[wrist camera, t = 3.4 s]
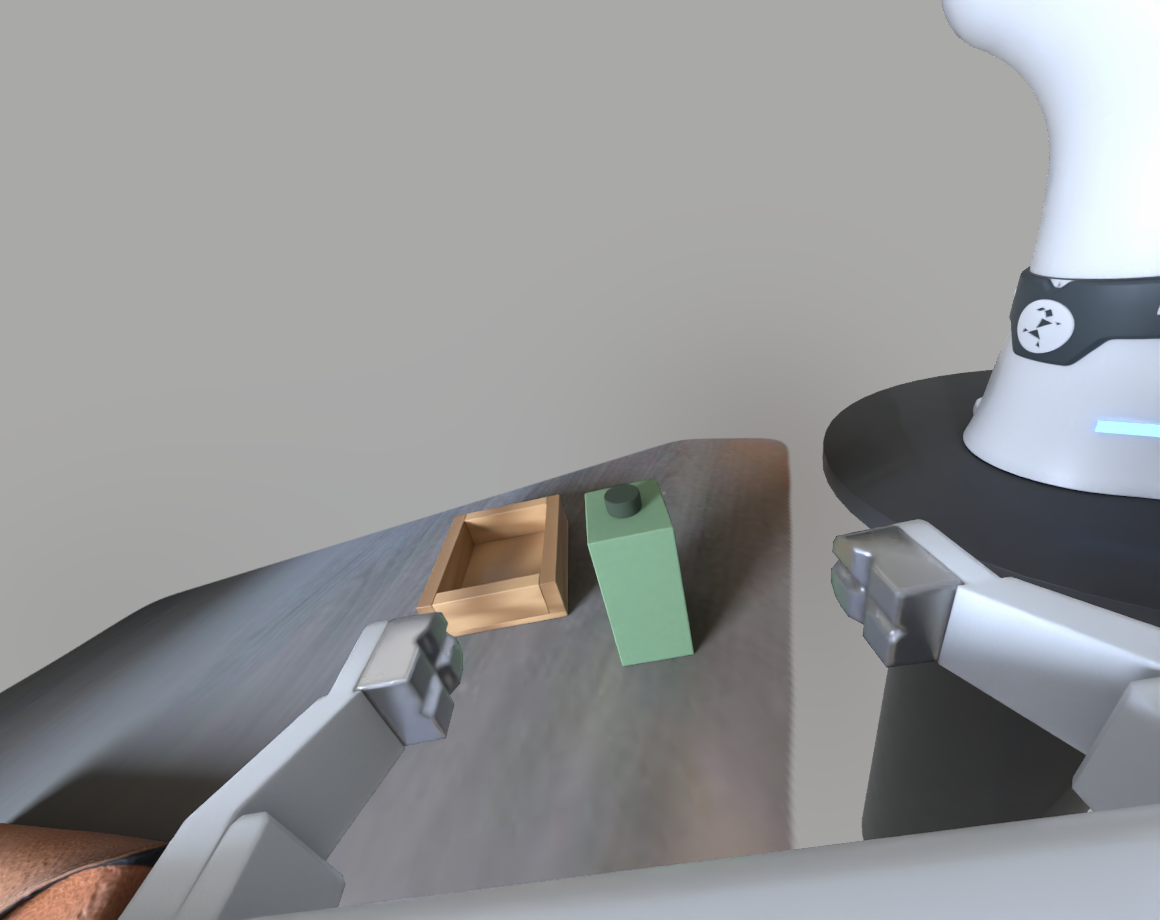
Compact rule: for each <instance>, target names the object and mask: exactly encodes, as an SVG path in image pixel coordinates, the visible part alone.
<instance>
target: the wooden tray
mask: <svg viewBox="0 0 1160 920" xmlns="http://www.w3.org/2000/svg"><path fill="white" fill-rule="evenodd" d="M416 609H417V611H418V612H419V614H425V613H431V612H442V613H443V615H444V617H445V618H446V620H447V622H448V626H447V629H446V632H447V633H449V634H451V635H453V636H461V635H466V634H471V633H477V632H482V631H488V630H493V629H498V628H504V627H509V626H515V625H520V624H525V623H531V622H536V621H542V620H547V619H552V618H558V617H563V616H568V520H567V517H566V514H565V510H564V507H563V504H562V501H561V497H560V494H557V495H553V496H548V497H544V498H539V499H534V500H530V501H525V502H520V503H515V504H511V505H506V506H501V507H497V508H492V509H487V510H483V511H478V512H473V513H468V514H463V515H458V516H455V518H454V520H453V522H452V525H451V527H450V530H449V532H448V534H447V537H446V539H445V541H444V544H443V546H442V549H441V551H440V553H439V556H438V558H437V560H436V563H435V565H434V567H433V570H432V572H431V575H430V577H429V579H428V582H427V584H426V586H425V589H424V591H423V594H422V596H421V598H420V601H419V603H418V605H417V608H416Z"/></svg>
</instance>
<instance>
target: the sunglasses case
mask: <svg viewBox="0 0 1160 920" xmlns="http://www.w3.org/2000/svg"><path fill="white" fill-rule="evenodd" d="M169 843H170V842H161V841H155V840H150V839H143V838H136V837H130V836H124V835H118V834H108V833H100V832H91V831H81V830H66V829H56V828H46V827H38V826H26V825H15V824H5V823H0V920H118V919H119V917H120V916H121V914H122V913H123V911H124V910H125V908H126V907H127V905H128V904H129V902H130V901H131V899H132V898H133V897H134V895H135V894H136V892H137V891H138V889H139V888H140V886H141V885H142V883H143V882H144V880H145V879H146V877H147V876H148V874H149V873H150V871H151V870H152V868H153V867H154V865H155V864H156V862H157V861H158V859H159V858H160V856H161V855H162V853H163V852H164V850H165V849H166V847H167V846H168V844H169Z"/></svg>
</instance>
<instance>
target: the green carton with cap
mask: <svg viewBox="0 0 1160 920" xmlns="http://www.w3.org/2000/svg"><path fill="white" fill-rule="evenodd" d="M585 508H586V526H587V543H588V548H589V551H590V555H591V558H592V562H593V565H594V569H595V572H596V575H597V579H598V582H599V586H600V589H601V593H602V596H603V600H604V603H605V607H606V610H607V614H608V617H609V621H610V624H611V627H612V631H613V634H614V638H615V641H616V645H617V648H618V652H619V655H620V659H621V662H622V665H623V666H628V665H634V664H639V663H645V662H651V661H657V660H663V659H668V658H674V657H680V656H686V655H692V654H694V650H693V643H692V637H691V631H690V625H689V619H688V612H687V606H686V600H685V594H684V587H683V581H682V575H681V569H680V563H679V556H678V550H677V544H676V538H675V532H674V526H673V524H672V521H671V518H670V515H669V513H668V510H667V507H666V504H665V502H664V499H663V496H662V493H661V491H660V488H659V485H658V482H657V480H656V478H654V479H649V480H644V481H640V482H635V483H630V484H620V485H616V486H614V487H611V488H607V489H602V490H597V491H592V492H588V493H585Z"/></svg>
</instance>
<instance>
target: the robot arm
mask: <svg viewBox="0 0 1160 920" xmlns="http://www.w3.org/2000/svg"><path fill="white" fill-rule="evenodd" d="M942 6H943V10H944V13H945V16H946V18H947V21H948V23H949V25H950V26H951V28H952V29H953V31H954V32H955V33H956V35H957V36H958V37H959V38H961V39H962V40H963V41H964V42H965V43H967V44H969V45H970V46H972V47H974V48H977V49H979V50H982V51H985V52H988V53H989V54H991V55H993V56H995V57H997V58H999V59H1001V60H1002V61H1004V62H1005V63H1007V64H1008V65H1009V66H1011V67H1012V68H1013V69H1014V70H1015V71H1016V72H1018V74H1019V75H1020V76H1021V77H1022V78H1023V79H1024V80H1025V81H1026V83H1027V84H1028V85H1029V86H1030V88H1031V89H1032V91H1033V93H1034V94H1035V96H1036V98H1037V100H1038V102H1039V104H1040V106H1041V109H1042V112H1043V114H1044V117H1045V121H1046V125H1047V131H1048V137H1049V169H1048V178H1047V185H1046V193H1045V199H1044V206H1043V212H1042V217H1041V222H1040V227H1039V232H1038V237H1037V241H1036V246H1035V250H1034V254H1033V258H1032V262H1031V266H1030V267H1028V268H1027V269H1025V270H1024V271H1023V272H1022V273H1021V275H1020V279H1019V283H1018V286H1017V287H1016V290H1015V293H1014V295H1013V296H1014V300H1013V304H1012V308H1011V313H1010V320H1011V331H1010V332H1009V333H1008V335H1007V337H1006V339H1005V341H1004V344H1003V346H1002V349H1001V351H1000V354H999V357H998V359H997V361H996V364H995V366H994V369H993V372H992V374H991V377H990V379H989V382H988V385H987V387H986V390H985V393H984V395H983V397H982V398H979V399H977V400H976V403H975V405H974V408H973V414H974V416H973V418H972V420H971V421H970V423H969V425H968V426H967V428H966V429H965V431H964V434H963V440H964V443H965V445H966V446H967V447H968V449H969V450H970V451H971V452H972V453H974V454H975V455H976V456H978V457H979V458H981V459H982V460H984V461H986V462H987V463H989V464H991V465H993V466H995V467H998V468H1000V469H1002V470H1005V471H1007V472H1010V473H1013V474H1015V475H1018V476H1021V477H1024V478H1028V479H1031V480H1034V481H1038V482H1042V483H1046V484H1050V485H1054V486H1059V487H1064V488H1069V489H1075V490H1080V491H1087V492H1094V493H1101V494H1110V495H1121V496H1132V497H1143V498H1152V499H1160V0H942ZM832 551H833V553H834V554H835V555H836V557H837V558H838V559H839V560H838V561H837V563H836V564H835V565H834V566H833V568H831V583H832V587H833V590H834V594H835V596H836V598H837V600H838V602H839V604H840V606H841V607H842V608H843V610H844V611H845V613H846V614H847V615H848V617H850V618H852V619H854V620H856V621H858V622H860V623H862V624H864V629H863V637H864V638H865V640H866V641H867V642H868V644H869V645H870V646H871V648H872V649H873V650H874V651H875V653H876V654H877V655H878V657H879V658H880V659H881V661H882V662H883V663H884V665H885V666H886V667H894V666H902V665H909V664H917V663H925V662H932V661H938V664H940V665H941V666H943V667H945V668H946V669H948V670H949V671H951V672H953V673H954V674H956V675H957V676H959V677H961V678H962V679H964V680H966V681H967V682H969V683H970V684H972V685H974V686H975V687H977V688H979V689H980V690H982V691H983V692H985V693H987V694H988V695H990V696H991V697H993V698H995V699H996V700H998V701H1000V702H1001V703H1003V704H1004V705H1006V706H1008V707H1009V708H1011V709H1012V710H1014V711H1016V712H1017V713H1019V714H1021V715H1022V716H1024V717H1025V718H1027V719H1029V720H1030V721H1032V722H1034V723H1035V724H1037V725H1038V726H1040V727H1042V728H1043V729H1045V730H1046V731H1048V732H1050V733H1051V734H1053V735H1055V736H1056V737H1058V738H1059V739H1061V740H1063V741H1064V742H1066V743H1067V744H1069V745H1071V746H1072V747H1074V748H1076V749H1077V750H1079V751H1080V752H1082V753H1084V754H1085V755H1086V756H1085V758H1084V760H1083V761H1082V763H1081V765H1080V766H1079V768H1078V770H1077V771H1076V773H1075V775H1074V776H1073V782H1072V789H1073V790H1074V791H1075V792H1076V793H1077V794H1078V795H1079V796H1080V797H1081V799H1082V800H1083V801H1084V802H1085V803H1086V804H1087V805H1088V806H1089V807H1090V808H1091V809H1092V811H1093V812H1087V813H1079V814H1071V815H1063V816H1055V817H1047V818H1040V819H1032V820H1024V821H1016V822H1008V823H1000V824H992V825H984V826H976V827H968V828H960V829H952V830H944V831H936V832H929V833H921V834H913V835H905V836H897V837H889V838H881V839H873V840H865V841H857V842H849V843H842V844H834V845H826V846H818V847H810V848H802V849H794V850H786V851H778V852H770V853H762V854H754V855H746V856H738V857H730V858H722V859H715V860H707V861H699V862H691V863H683V864H675V865H667V866H659V867H651V868H643V869H635V870H627V871H619V872H611V873H604V874H596V875H588V876H580V877H572V878H564V879H556V880H548V881H540V882H532V883H524V884H517V885H509V886H501V887H493V888H485V889H477V890H469V891H461V892H453V893H446V894H438V895H430V896H422V897H414V898H406V899H398V900H390V901H382V902H374V903H367V904H359V905H351V906H343V907H338V905H339V902H340V899H341V896H342V893H343V890H344V887H345V881H344V878H343V875H342V874H340V873H339V872H338V871H337V870H336V869H334V868H333V867H332V866H331V865H330V864H328V863H327V862H326V859H327V858H328V857H329V855H330V854H331V852H332V851H333V850H334V848H335V847H336V845H337V844H338V842H339V841H340V840H341V838H342V837H343V835H344V834H345V833H346V831H347V830H348V828H349V827H350V826H351V824H352V823H353V821H354V820H355V819H356V817H357V816H358V814H359V813H360V812H361V810H362V809H363V807H364V806H365V805H366V803H367V802H368V800H369V799H370V798H371V796H372V795H373V793H374V792H375V791H376V789H377V788H378V786H379V785H380V784H381V782H382V781H383V779H384V778H385V777H386V775H387V774H388V772H389V771H390V770H391V768H392V767H393V765H394V764H395V763H396V761H397V760H398V758H399V757H400V756H401V754H402V753H403V751H404V750H405V747H404V746H409V745H414V744H419V743H424V742H430V741H435V740H440V739H445V738H446V735H447V731H448V727H449V723H450V720H451V716H452V712H453V708H454V703H453V701H452V699H451V696H450V694H451V693H452V692H453V691H454V690H455V688H456V687H457V686H458V685H459V684H460V680H461V676H462V671H463V654H462V650H461V646H460V644H459V642H458V640H457V638H456V637H455V636H453V635H451V634H449V633H447V632H446V629H447V626H448V622H447V620H446V618H445V617H444V615H443V613H442V612H431V613H425V614H419V615H413V616H407V617H401V618H395V619H392V620H386V621H379V622H373V623H371V624H369V625H368V626H367V627H365V628H364V630H363V632H362V634H361V636H360V637H359V639H358V641H357V643H356V645H355V647H354V649H353V650H352V652H351V654H350V656H349V658H348V660H347V661H346V663H345V665H344V667H343V669H342V671H341V672H340V674H339V676H338V678H337V680H336V682H335V684H334V685H333V687H332V689H331V691H330V693H329V695H328V696H325V697H320V698H319V699H318V700H317V701H316V702H315V703H314V704H313V705H311V706H310V707H309V708H308V709H307V710H306V711H305V712H304V713H303V714H302V715H300V716H299V717H298V718H297V719H296V720H295V721H294V722H293V723H292V724H291V725H289V726H288V727H287V728H286V729H285V730H284V731H283V732H282V733H281V734H280V735H278V736H277V737H276V738H275V739H274V740H273V741H272V742H271V743H270V744H268V745H267V746H266V747H265V748H264V749H263V750H262V751H261V752H260V753H259V754H257V755H256V756H255V757H254V758H253V759H252V760H251V761H250V762H249V763H248V764H246V765H245V766H244V767H243V768H242V769H241V770H240V771H239V772H238V773H237V774H235V775H234V776H233V777H232V778H231V779H230V780H229V781H228V782H227V783H226V784H224V785H223V786H222V787H221V788H220V789H219V790H218V791H217V792H216V793H214V794H213V795H212V796H211V797H210V798H209V799H208V800H207V801H206V802H205V803H203V804H202V805H201V806H200V807H199V808H198V809H197V810H196V811H195V812H194V813H192V814H191V815H190V816H189V817H188V818H187V819H186V820H185V821H184V822H183V824H182V825H181V827H180V828H179V830H178V831H177V833H176V834H175V836H174V837H173V839H172V840H171V841H170V843H169V844H168V846H167V847H166V849H165V850H164V852H163V853H162V855H161V856H160V858H159V859H158V861H157V862H156V864H155V865H154V867H153V868H152V870H151V871H150V873H149V874H148V876H147V877H146V879H145V880H144V882H143V883H142V885H141V886H140V888H139V889H138V891H137V892H136V894H135V895H134V897H133V898H132V899H131V901H130V902H129V904H128V905H127V907H126V908H125V910H124V911H123V913H122V914H121V916H120V917H119V919H118V920H1160V628H1159V627H1156V626H1153V625H1150V624H1147V623H1144V622H1141V621H1138V620H1135V619H1133V618H1130V617H1127V616H1124V615H1121V614H1118V613H1115V612H1112V611H1109V610H1106V609H1103V608H1100V607H1098V606H1095V605H1092V604H1089V603H1086V602H1083V601H1080V600H1077V599H1074V598H1071V597H1068V596H1065V595H1062V594H1060V593H1057V592H1054V591H1051V590H1048V589H1045V588H1042V587H1039V586H1036V585H1033V584H1030V583H1027V582H1024V581H1022V580H1019V579H1016V578H1013V577H1006V578H1000V577H999V576H997V575H996V574H995V573H993V572H992V571H991V570H989V569H988V568H987V567H986V566H984V565H983V564H982V563H980V562H979V561H978V560H976V559H975V558H974V557H973V556H971V555H970V554H969V553H967V552H966V551H965V550H963V549H962V548H961V547H960V546H958V545H957V544H956V543H954V542H953V541H952V540H950V539H949V538H948V537H947V536H945V535H944V534H943V533H941V532H940V531H939V530H937V529H936V528H935V527H933V526H932V525H931V524H930V523H928V522H926V521H923V520H920V519H917V520H912V521H907V522H902V523H897V524H892V525H890V526H883V527H878V528H873V529H868V530H863V531H858V532H853V533H848V534H843V535H838V536H836V538H835V539H834V541H833V550H832Z"/></svg>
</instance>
